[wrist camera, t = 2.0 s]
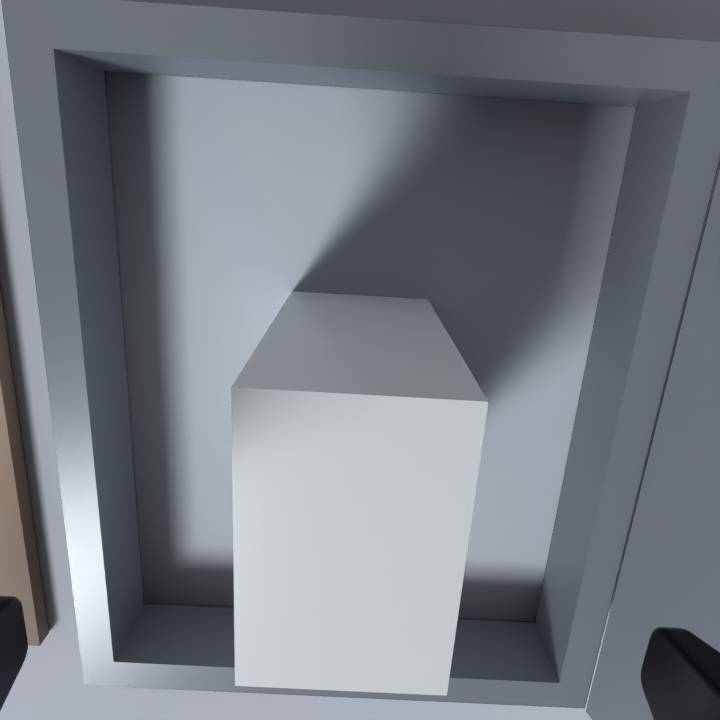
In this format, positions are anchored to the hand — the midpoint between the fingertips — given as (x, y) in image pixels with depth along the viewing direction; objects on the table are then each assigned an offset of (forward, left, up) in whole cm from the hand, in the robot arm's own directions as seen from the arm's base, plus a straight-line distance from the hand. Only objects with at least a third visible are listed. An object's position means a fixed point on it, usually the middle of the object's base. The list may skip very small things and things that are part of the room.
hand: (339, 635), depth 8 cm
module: (0, 0, -10) cm, 10 cm away
